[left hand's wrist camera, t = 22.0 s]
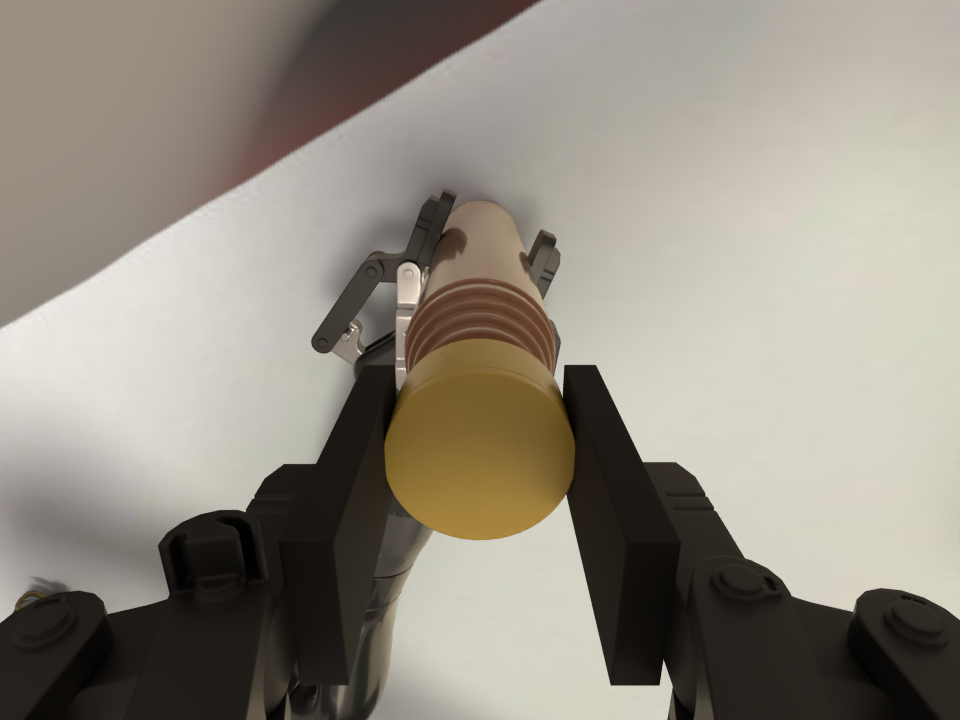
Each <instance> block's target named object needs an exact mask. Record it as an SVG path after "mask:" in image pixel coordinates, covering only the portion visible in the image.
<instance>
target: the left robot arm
mask: <svg viewBox="0 0 960 720" xmlns="http://www.w3.org/2000/svg"><path fill="white" fill-rule="evenodd" d="M396 400H397V390H396V372H395V365H364V366H363V368H362V370H361V372H360V374H359V376H358V378H357V380H356V382H355V384H354V386H353V388H352V390H351V393H350V395H349V397H348V399H347V401H346V403H345V405H344V407H343V409H342V411H341V413H340V415H339V417H338V420H337V422H336V424H335V426H334V428H333V430H332V432H331V434H330V436H329V438H328V440H327V442H326V445H325V447H324V449H323V451H322V453H321V455H320V457H319V459H318V461H317V463H316V464H284V465H282V466H281V467H280V468H278V469H277V470H276V471H274V472H273V473H272V474H270V475H269V476H268V477H266V478H265V479H264V481H263V482H262V484H261V486H260V487H259V489H258V491H257V492H256V494H255V498H254V499H252V501H251V502H250V504H249V505H248V507H247V509H246V512H243V511H239V510H218V511H214V512H209V513H205V514H200V515H198V516H196V517H193V518H191V519H189V520H186V521H184V522H182V523H180V524H179V525H178V526H176V527H175V528H174V529H172V530H171V531H169V532H168V533H167V534H166V535H165V537H164V538H163V539H162V541H161V542H160V543H159V545H158V548H159V552H160V556H161V560H162V564H163V568H164V572H165V577H166V581H167V585H168V589H169V593H170V595H169V597H168V599H166V600H163V601H160V602H157V603H153V604H150V605H146V606H142V607H137V608H133V609H129V610H124V611H120V612H116V613H111V614H107V612H106V609H105V606H104V602H103V601H102V600H101V599H100V598H99V597H98V596H96V595H95V594H93V593H88V592H83V591H72V592H63V593H57V594H54V595H51V596H48V597H45V598H42V599H39V600H36V601H34V602H32V603H30V604H29V605H27V606H25V607H23V608H21V609H19V610H17V611H15V612H14V613H13V614H11V615H10V616H9V617H8V618H6V619H5V620H4V621H2V622H1V623H0V720H290V716H291V709H290V702H289V695H288V689H287V687H288V684H289V681H290V678H291V675H292V672H293V669H294V666H295V663H296V661H297V668H298V675H299V681H300V685H349V682H350V678H351V674H352V669H353V665H354V661H355V657H356V652H357V648H358V644H359V639H360V635H361V631H362V627H363V622H364V618H365V614H366V609H367V605H368V601H369V596H370V592H371V588H372V584H373V579H374V575H375V571H376V566H377V562H378V558H379V554H380V549H381V545H382V541H383V536H384V532H385V528H386V524H387V519H388V515H389V511H390V506H391V502H392V498H393V492H392V490H391V488H390V486H389V483H388V481H387V478H386V467H385V452H384V441H385V437H386V433H387V429H388V426H389V423H390V420H391V416H392V413H393V410H394V406H395V403H396ZM563 401H564V404H565V407H566V411H567V414H568V417H569V421H570V424H571V428H572V431H573V434H574V438H575V461H574V475H573V480H572V482H571V485H570V487H569V489H568V491H567V493H566V495H567V499H568V504H569V508H570V512H571V517H572V521H573V525H574V529H575V534H576V538H577V542H578V547H579V551H580V555H581V559H582V564H583V568H584V572H585V577H586V581H587V585H588V590H589V594H590V598H591V602H592V607H593V611H594V615H595V620H596V624H597V628H598V632H599V637H600V641H601V645H602V650H603V654H604V658H605V663H606V667H607V671H608V675H609V680H610V684H611V685H660V679H661V672H662V665H663V659H664V662H665V665H666V667H667V670H668V673H669V676H670V679H671V682H672V685H673V689H672V695H671V701H670V708H669V714H668V720H960V620H959V619H958V618H956V617H955V616H954V615H952V614H951V613H950V612H949V611H947V610H946V609H944V608H943V607H941V606H939V605H937V604H935V603H933V602H931V601H929V600H927V599H925V598H923V597H920V596H917V595H914V594H911V593H908V592H905V591H902V590H893V589H884V588H880V589H875V590H869V591H865V592H864V593H863V594H862V595H861V596H860V597H859V598H858V599H857V601H856V604H855V607H854V611H853V612H851V611H846V610H842V609H837V608H833V607H829V606H824V605H820V604H816V603H811V602H808V601H805V600H801V599H798V598H795V597H792V596H791V593H790V592H789V590H788V589H787V587H786V586H785V584H784V583H783V581H782V580H781V579H780V578H779V577H778V576H776V575H775V574H774V573H773V572H771V571H770V570H769V569H768V568H766V567H764V566H762V565H760V564H757V563H755V562H753V561H751V560H748V559H745V558H744V556H743V554H742V553H741V551H740V549H739V548H738V546H737V545H736V543H735V541H734V540H733V538H732V536H731V535H730V533H729V531H728V530H727V528H726V527H725V525H724V523H723V522H722V520H721V518H720V517H719V515H718V513H717V512H716V511H714V507H713V505H712V504H711V502H710V500H709V499H708V497H706V496H705V492H704V490H703V489H702V487H701V486H700V484H699V482H698V481H697V479H696V477H695V476H693V475H692V474H691V473H689V472H688V471H687V470H685V469H684V468H683V467H681V466H680V465H679V464H677V463H676V462H642V460H641V458H640V456H639V454H638V452H637V450H636V447H635V445H634V443H633V441H632V439H631V437H630V435H629V433H628V431H627V429H626V427H625V425H624V422H623V420H622V418H621V416H620V414H619V412H618V410H617V408H616V406H615V404H614V402H613V400H612V398H611V395H610V393H609V391H608V389H607V387H606V385H605V383H604V381H603V379H602V377H601V375H600V373H599V370H598V368H597V366H596V365H564V383H563Z"/></svg>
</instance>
